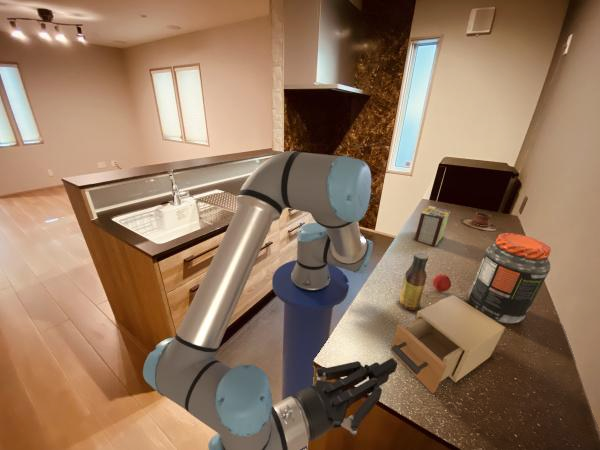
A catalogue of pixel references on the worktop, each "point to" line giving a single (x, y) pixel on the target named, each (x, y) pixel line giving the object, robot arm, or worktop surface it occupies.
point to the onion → (442, 282)
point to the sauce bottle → (414, 282)
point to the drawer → (426, 352)
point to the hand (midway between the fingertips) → (393, 364)
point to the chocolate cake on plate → (479, 221)
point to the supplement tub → (510, 277)
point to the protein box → (431, 225)
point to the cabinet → (464, 331)
